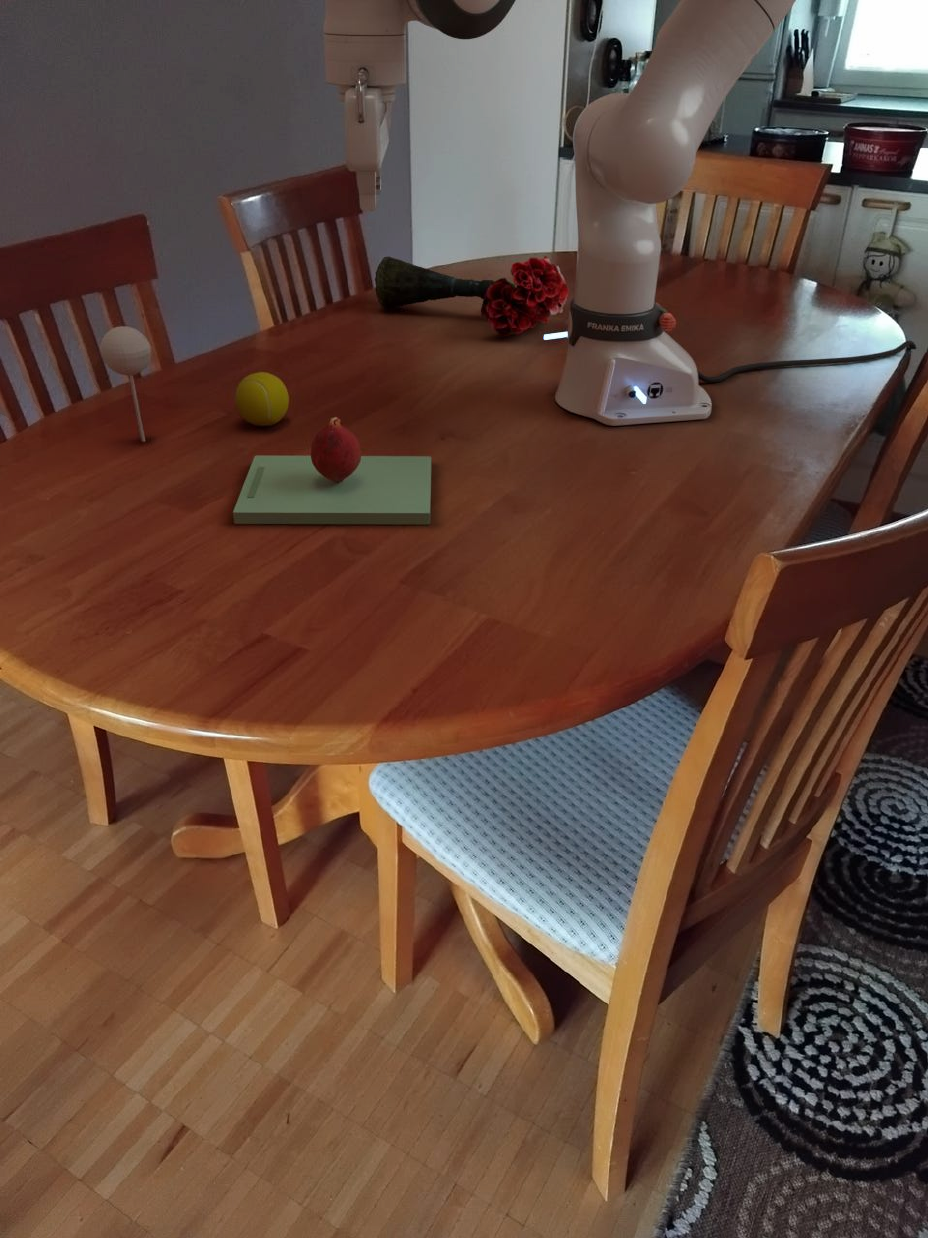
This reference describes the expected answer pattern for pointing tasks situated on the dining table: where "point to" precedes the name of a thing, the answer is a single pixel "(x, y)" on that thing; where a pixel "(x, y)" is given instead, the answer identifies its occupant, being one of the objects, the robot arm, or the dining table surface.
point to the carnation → (480, 291)
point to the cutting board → (336, 492)
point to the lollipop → (127, 357)
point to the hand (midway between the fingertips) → (371, 201)
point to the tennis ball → (262, 399)
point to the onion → (335, 451)
